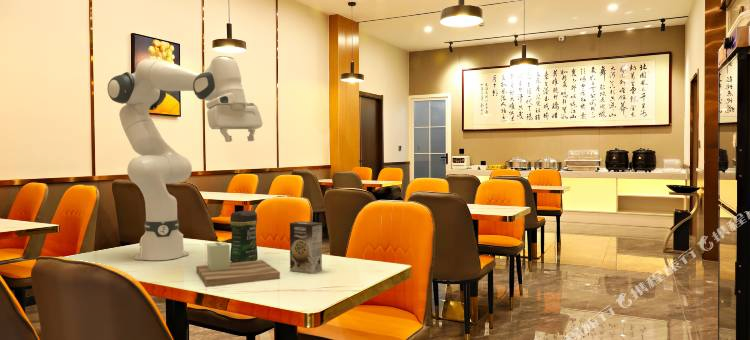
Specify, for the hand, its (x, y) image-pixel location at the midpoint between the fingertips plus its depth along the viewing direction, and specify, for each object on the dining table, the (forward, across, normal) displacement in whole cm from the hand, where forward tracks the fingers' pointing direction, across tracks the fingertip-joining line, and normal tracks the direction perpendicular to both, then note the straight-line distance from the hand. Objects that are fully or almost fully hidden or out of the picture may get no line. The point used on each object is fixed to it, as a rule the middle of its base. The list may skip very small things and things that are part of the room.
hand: (240, 141), depth 177 cm
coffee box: (+48, -8, +10) cm, 49 cm away
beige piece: (+40, +12, -9) cm, 43 cm away
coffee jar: (+41, -6, -19) cm, 45 cm away
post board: (+43, +9, -3) cm, 45 cm away
